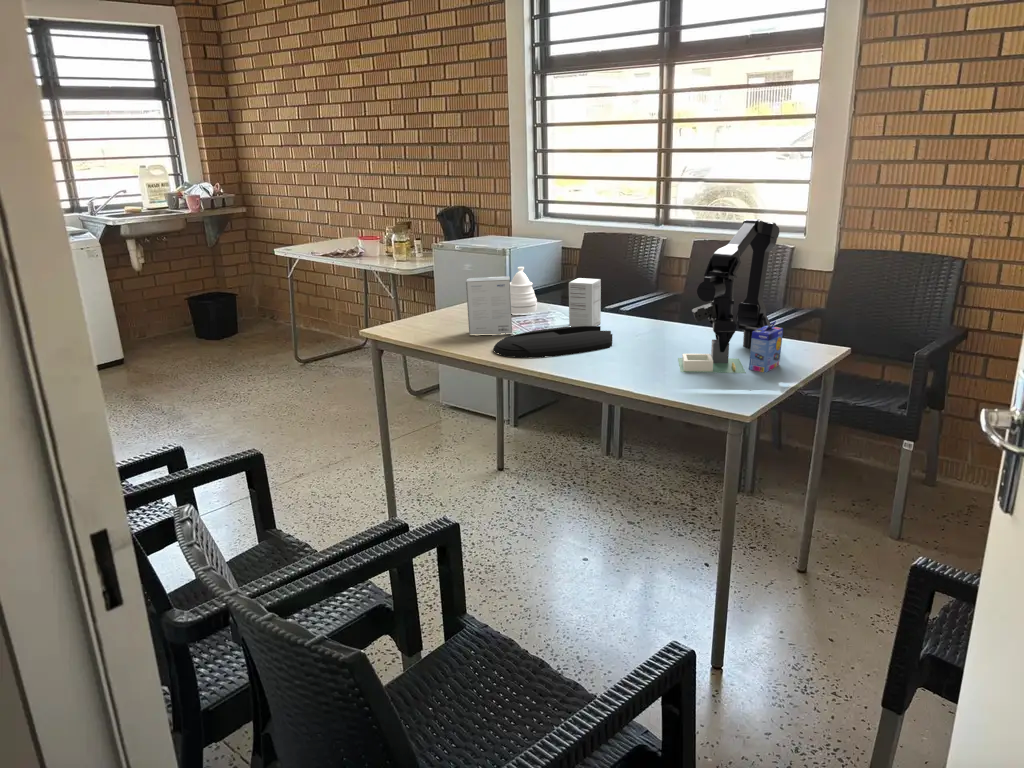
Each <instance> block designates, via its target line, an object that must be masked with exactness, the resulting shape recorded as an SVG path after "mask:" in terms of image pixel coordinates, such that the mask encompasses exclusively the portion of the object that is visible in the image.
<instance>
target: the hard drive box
mask: <svg viewBox="0 0 1024 768" xmlns="http://www.w3.org/2000/svg"><path fill="white" fill-rule="evenodd" d="M510 278H511V277H510V276H508V275H507V276H488V277H487V276H486V277H484V276H483V277H469V278H467V279H466V280H465V289H466V291H465V292H466V304H467V307H466V308H467V319H468V321H467V322H468V335H469V334H501V333H505V334H506V333H512V334H513V321H512V319H513V318H512V315H511V293H510V282H511V279H510Z"/></svg>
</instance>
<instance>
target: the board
mask: <svg viewBox="0 0 1024 768" xmlns="http://www.w3.org/2000/svg"><path fill="white" fill-rule="evenodd" d="M677 362H678V366H679V371H680V373H704V374H705V373H706V374H707V373H709V374H710V373H713V374H715V373H716V374H717V373H720V374H729V373H730V374H746V373H747V371H746V370H745V367H744V366H743V364H742V362H741V360H740V358H737V357H736V358H735V357H734V358H730V357H728V363H713V371H684V369H683V364H682V357H677Z"/></svg>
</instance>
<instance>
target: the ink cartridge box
mask: <svg viewBox="0 0 1024 768" xmlns="http://www.w3.org/2000/svg"><path fill="white" fill-rule="evenodd" d="M776 322H777V320H775V321H772V322H770V325H769V326H764V327H762V328H760V329H757V330H755V331H753V332H752V339H751V349H749V350H750V352H749V362H748V370H749V371H750V370H751V371H755V372H761V373H767V372H769V371H771V370H773V369H775V368H777V367H778V366H780V362H781V361H780V359H781V353H782V343H783V335H784V334H783V333H784V328H783V327H780V326H779V327H778V326H775V324H776Z"/></svg>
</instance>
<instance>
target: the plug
mask: <svg viewBox="0 0 1024 768" xmlns="http://www.w3.org/2000/svg"><path fill="white" fill-rule="evenodd" d="M710 351H711V352H710V354H711V357H712V359H713V363H728V358H730V357H729V355H730V342H729V343H728V345H727V347H726V349H725V351H724V352H720V348H719V340H716V339H711V350H710Z"/></svg>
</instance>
